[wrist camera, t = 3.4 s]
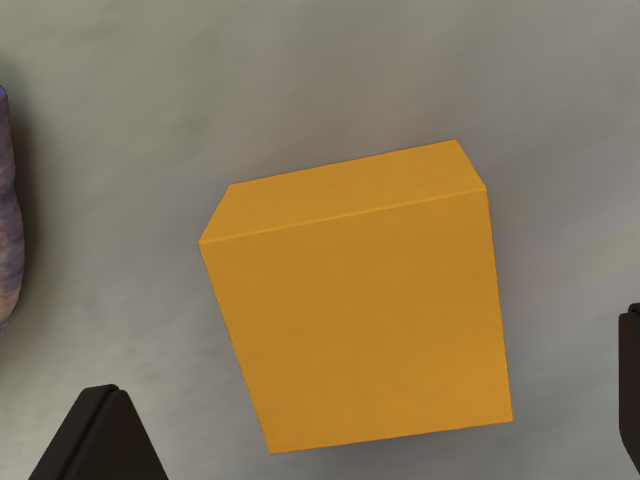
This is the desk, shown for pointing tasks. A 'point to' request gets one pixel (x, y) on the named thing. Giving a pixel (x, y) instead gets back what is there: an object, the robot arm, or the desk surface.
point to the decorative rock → (9, 222)
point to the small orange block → (363, 298)
